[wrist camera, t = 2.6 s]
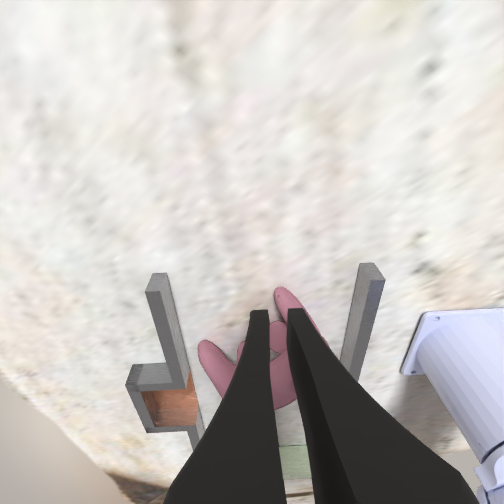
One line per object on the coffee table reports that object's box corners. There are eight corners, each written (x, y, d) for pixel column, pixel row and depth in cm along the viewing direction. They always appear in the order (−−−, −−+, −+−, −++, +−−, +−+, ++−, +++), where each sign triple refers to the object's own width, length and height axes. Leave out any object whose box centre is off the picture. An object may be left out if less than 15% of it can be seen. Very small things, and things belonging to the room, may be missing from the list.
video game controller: (225, 347, 28) (249, 427, 24) (189, 344, 24) (211, 437, 20) (308, 291, 24) (352, 374, 20) (280, 278, 21) (327, 375, 17)
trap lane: (428, 259, 21) (454, 286, 18) (362, 445, 36) (371, 474, 33) (96, 276, 21) (76, 305, 18) (169, 456, 36) (164, 486, 33)
